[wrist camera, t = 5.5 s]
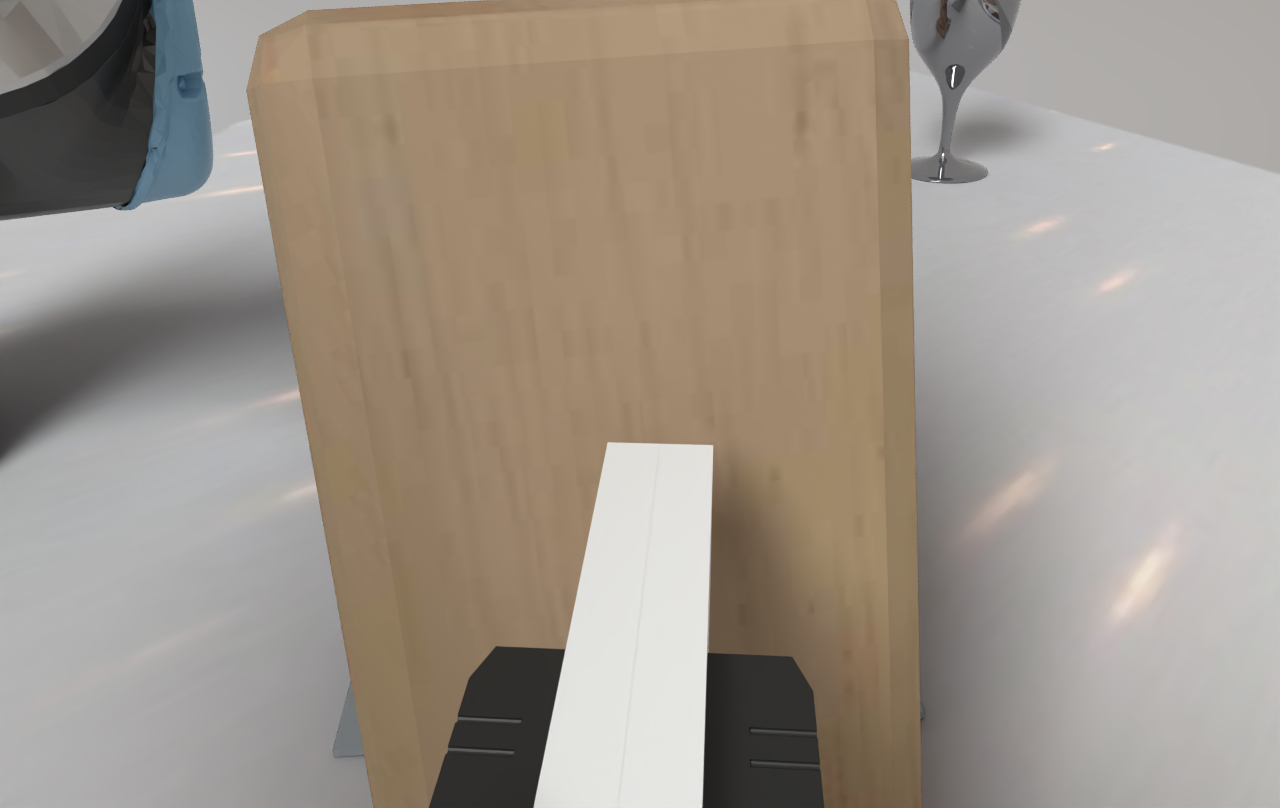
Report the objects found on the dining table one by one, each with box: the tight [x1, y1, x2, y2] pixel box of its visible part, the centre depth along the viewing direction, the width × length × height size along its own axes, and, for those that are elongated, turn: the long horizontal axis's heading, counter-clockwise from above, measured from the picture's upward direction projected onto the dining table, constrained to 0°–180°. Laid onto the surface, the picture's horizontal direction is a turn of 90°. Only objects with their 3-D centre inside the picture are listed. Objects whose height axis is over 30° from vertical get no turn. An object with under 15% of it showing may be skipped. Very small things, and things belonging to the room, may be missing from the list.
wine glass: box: [910, 0, 1021, 183], centre depth 74 cm, size 8×8×15 cm
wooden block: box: [246, 0, 922, 808], centre depth 21 cm, size 10×10×20 cm
